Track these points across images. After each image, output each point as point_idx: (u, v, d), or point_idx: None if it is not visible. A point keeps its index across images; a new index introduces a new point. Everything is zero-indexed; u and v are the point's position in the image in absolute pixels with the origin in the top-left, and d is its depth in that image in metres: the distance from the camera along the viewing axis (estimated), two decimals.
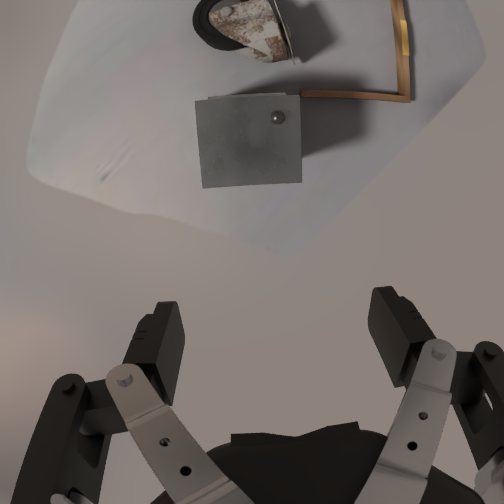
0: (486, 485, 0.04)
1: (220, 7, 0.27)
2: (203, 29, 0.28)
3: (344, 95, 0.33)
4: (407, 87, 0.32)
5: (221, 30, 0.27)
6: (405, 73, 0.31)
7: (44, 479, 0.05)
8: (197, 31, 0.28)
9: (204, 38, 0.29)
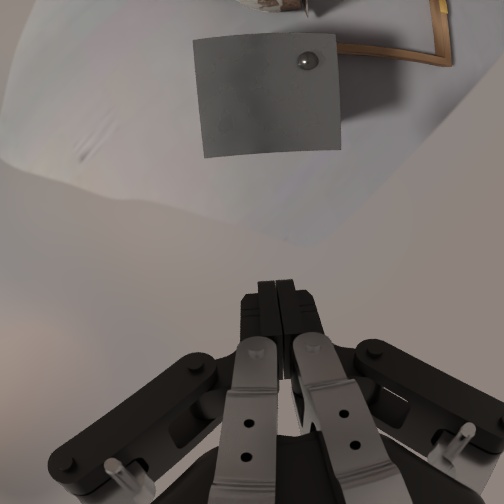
0: (449, 469, 0.05)
1: None
2: None
3: (378, 51, 0.24)
4: (447, 48, 0.23)
5: None
6: (444, 32, 0.22)
7: (114, 440, 0.06)
8: None
9: None
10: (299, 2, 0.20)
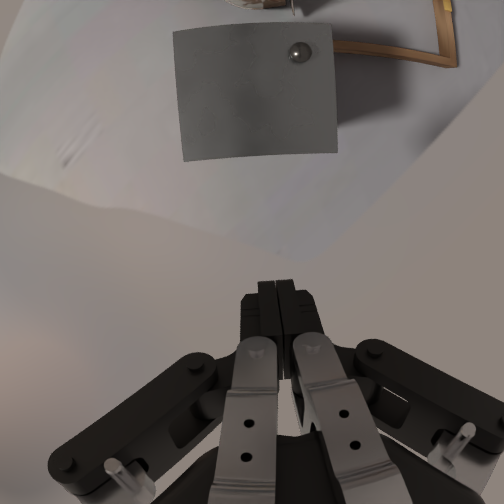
0: (449, 469, 0.05)
1: None
2: None
3: (379, 50, 0.22)
4: (452, 48, 0.21)
5: None
6: (449, 31, 0.20)
7: (114, 440, 0.06)
8: None
9: None
10: None
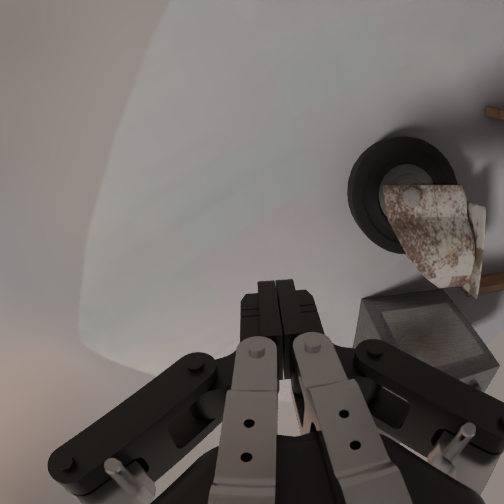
0: (449, 469, 0.05)
1: (401, 178, 0.19)
2: (368, 213, 0.20)
3: (500, 288, 0.25)
4: None
5: (403, 242, 0.19)
6: None
7: (114, 440, 0.06)
8: (357, 213, 0.20)
9: (366, 231, 0.21)
10: None
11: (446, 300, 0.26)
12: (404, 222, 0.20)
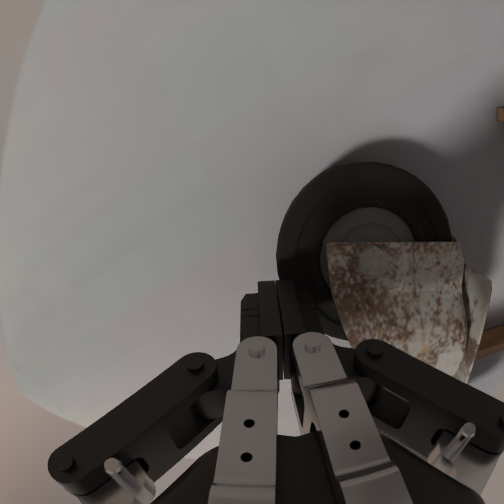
0: (449, 469, 0.05)
1: (359, 231, 0.13)
2: (301, 283, 0.14)
3: None
4: None
5: (351, 335, 0.12)
6: None
7: (114, 440, 0.06)
8: None
9: None
10: None
11: None
12: (358, 301, 0.13)
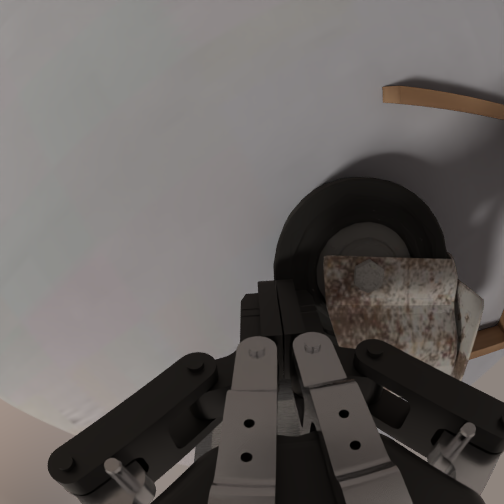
0: (449, 469, 0.05)
1: (356, 245, 0.13)
2: None
3: None
4: None
5: (343, 346, 0.13)
6: None
7: (114, 440, 0.06)
8: None
9: None
10: None
11: None
12: (352, 313, 0.13)
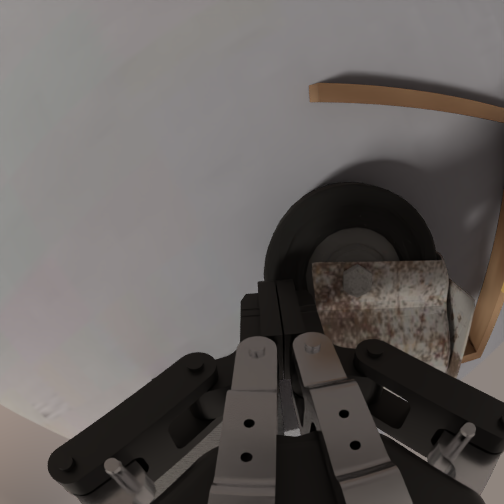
0: (449, 469, 0.05)
1: (344, 251, 0.13)
2: None
3: None
4: (485, 339, 0.18)
5: None
6: (491, 319, 0.17)
7: (114, 440, 0.06)
8: None
9: None
10: None
11: None
12: (342, 318, 0.14)
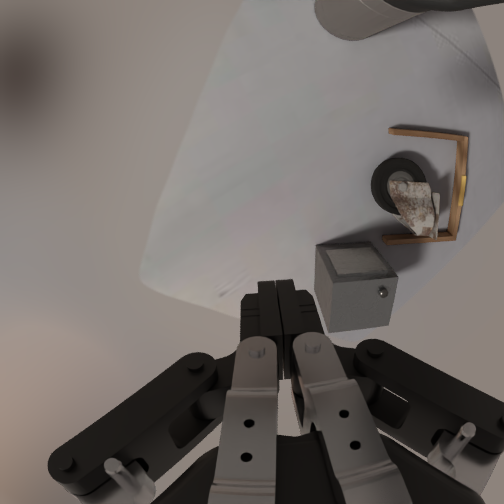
0: (449, 469, 0.05)
1: (398, 178, 0.40)
2: (381, 193, 0.41)
3: (413, 242, 0.46)
4: (456, 229, 0.45)
5: (398, 207, 0.40)
6: (456, 219, 0.44)
7: (114, 440, 0.06)
8: (376, 193, 0.41)
9: (380, 202, 0.42)
10: (425, 235, 0.42)
11: (371, 246, 0.46)
12: (399, 198, 0.41)
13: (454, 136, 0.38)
